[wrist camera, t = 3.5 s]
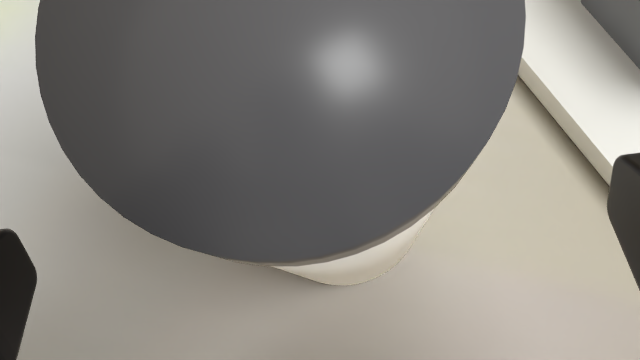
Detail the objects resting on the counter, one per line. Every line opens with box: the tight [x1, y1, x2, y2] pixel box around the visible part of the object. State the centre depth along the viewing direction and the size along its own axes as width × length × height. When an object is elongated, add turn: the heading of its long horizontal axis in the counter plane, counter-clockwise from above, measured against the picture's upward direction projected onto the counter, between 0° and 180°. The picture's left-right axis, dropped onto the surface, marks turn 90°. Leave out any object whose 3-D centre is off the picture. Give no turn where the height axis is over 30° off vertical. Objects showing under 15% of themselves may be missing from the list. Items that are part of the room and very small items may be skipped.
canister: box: [35, 0, 526, 285], centre depth 12 cm, size 5×5×12 cm
